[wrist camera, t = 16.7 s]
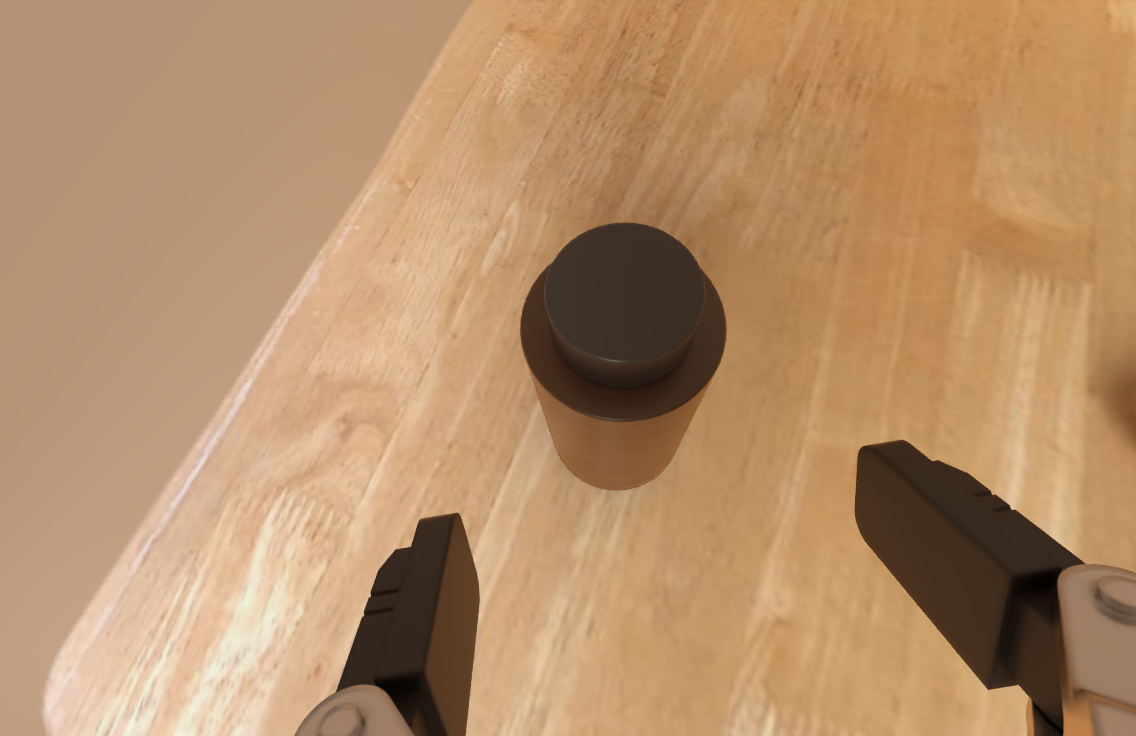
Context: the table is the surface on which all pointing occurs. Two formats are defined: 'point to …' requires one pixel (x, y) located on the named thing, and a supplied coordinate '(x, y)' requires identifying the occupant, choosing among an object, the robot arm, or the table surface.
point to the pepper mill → (621, 350)
